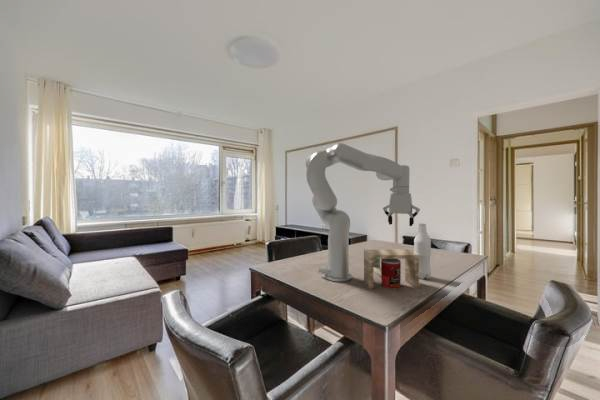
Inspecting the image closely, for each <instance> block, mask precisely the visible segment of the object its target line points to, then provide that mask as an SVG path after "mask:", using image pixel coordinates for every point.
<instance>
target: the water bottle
mask: <svg viewBox="0 0 600 400" xmlns="http://www.w3.org/2000/svg"><path fill="white" fill-rule="evenodd" d="M417 229H418V231H417V233H416V234H415V235H416V236H415V237H414V239H413V243H414V244H413V246H414V247H413V252H414V253H416V254H418V255H419V280H425V279H427V280H428V279H429V278H431V275H432V268H431V255H432V241H431V238H430V235H428V232H427V224H426V223H419V224H418V228H417Z"/></svg>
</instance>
